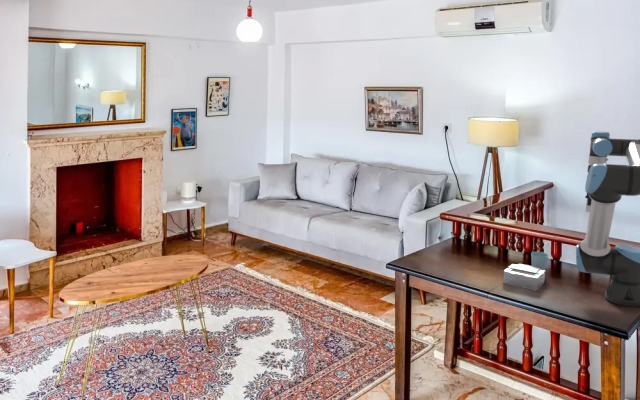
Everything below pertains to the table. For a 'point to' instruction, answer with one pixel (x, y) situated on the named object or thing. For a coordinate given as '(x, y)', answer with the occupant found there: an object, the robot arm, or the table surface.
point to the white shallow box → (526, 269)
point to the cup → (539, 259)
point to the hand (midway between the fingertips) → (592, 209)
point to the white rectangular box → (524, 279)
